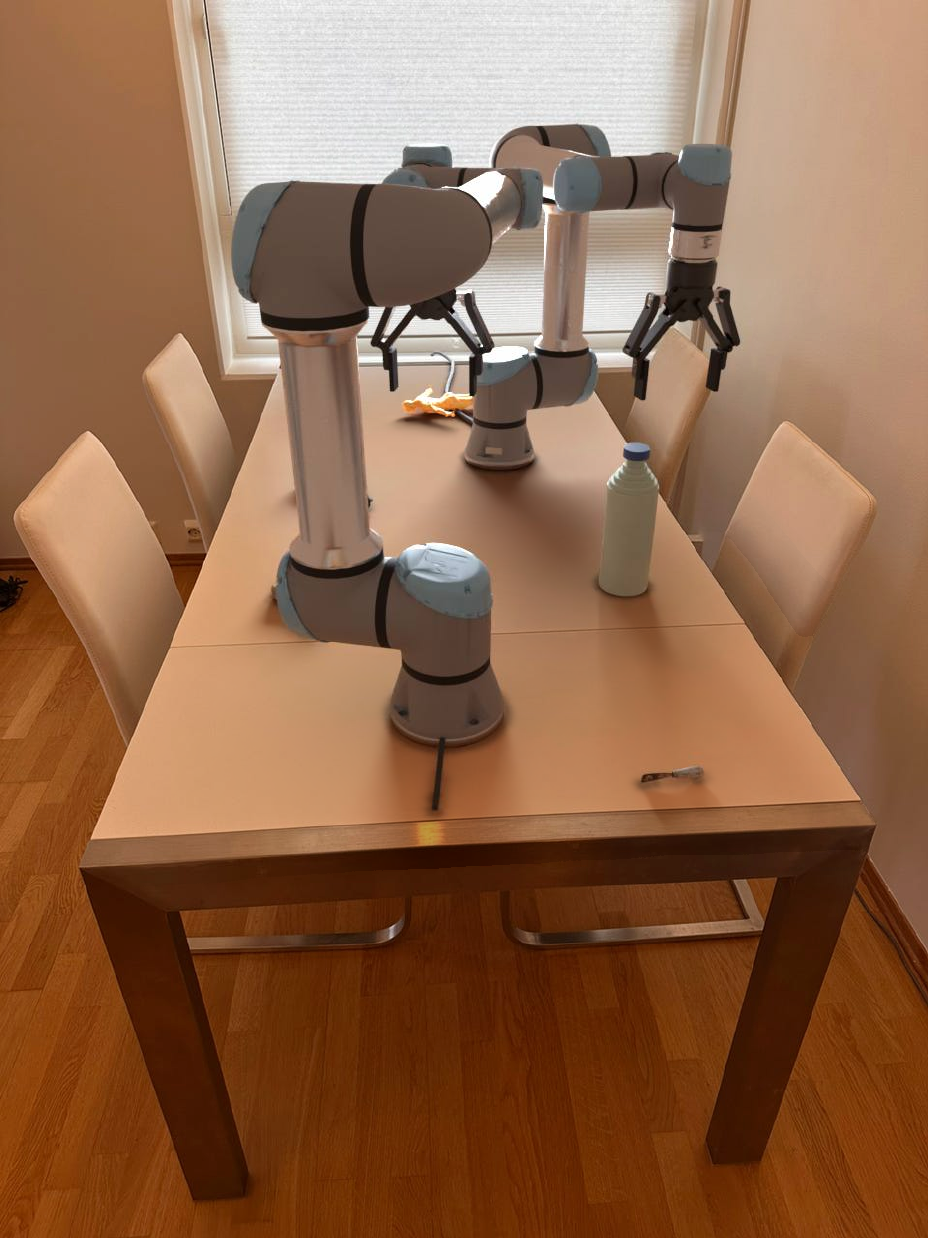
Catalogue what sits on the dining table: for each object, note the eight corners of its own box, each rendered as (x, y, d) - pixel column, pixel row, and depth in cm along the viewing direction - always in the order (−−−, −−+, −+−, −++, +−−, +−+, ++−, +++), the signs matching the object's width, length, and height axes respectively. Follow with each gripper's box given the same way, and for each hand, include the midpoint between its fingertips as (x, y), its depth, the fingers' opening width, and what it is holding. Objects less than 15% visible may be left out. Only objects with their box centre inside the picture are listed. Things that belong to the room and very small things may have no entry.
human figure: (395, 413, 223) (394, 398, 221) (438, 390, 237) (438, 375, 235) (462, 429, 215) (462, 413, 213) (502, 404, 229) (503, 388, 227)
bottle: (608, 568, 155) (621, 436, 142) (653, 579, 152) (670, 445, 139) (591, 589, 149) (602, 453, 136) (637, 601, 146) (653, 463, 133)
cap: (628, 449, 141) (629, 440, 140) (652, 454, 139) (654, 445, 138) (619, 458, 138) (619, 449, 137) (644, 463, 136) (645, 453, 135)
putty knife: (703, 777, 109) (705, 767, 109) (642, 788, 108) (644, 777, 107) (700, 772, 110) (702, 762, 109) (639, 782, 109) (640, 771, 108)
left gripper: (513, 255, 139) (510, 389, 150) (360, 249, 144) (368, 380, 155) (505, 264, 133) (502, 403, 144) (345, 258, 137) (355, 393, 149)
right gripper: (631, 268, 131) (618, 408, 142) (777, 257, 137) (753, 392, 149) (608, 258, 137) (598, 394, 148) (749, 248, 143) (728, 379, 155)
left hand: (433, 391), depth 149 cm, fingers open, 13 cm apart
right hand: (676, 393), depth 148 cm, fingers open, 13 cm apart
